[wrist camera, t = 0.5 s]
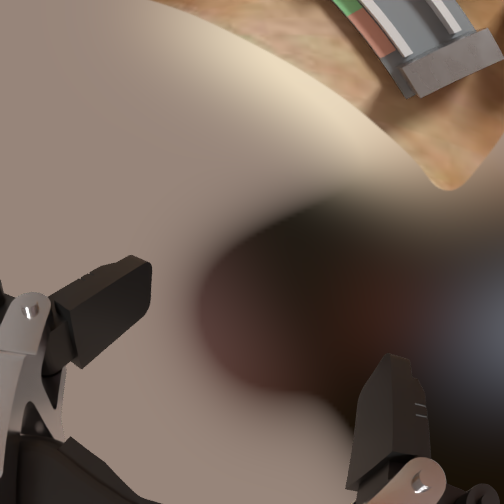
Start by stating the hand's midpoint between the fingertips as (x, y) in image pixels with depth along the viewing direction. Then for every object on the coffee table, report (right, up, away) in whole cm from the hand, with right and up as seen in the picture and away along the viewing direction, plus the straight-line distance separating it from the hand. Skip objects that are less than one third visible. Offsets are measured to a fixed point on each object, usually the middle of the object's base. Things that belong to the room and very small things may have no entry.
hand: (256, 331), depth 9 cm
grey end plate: (+19, +22, +11) cm, 31 cm away
